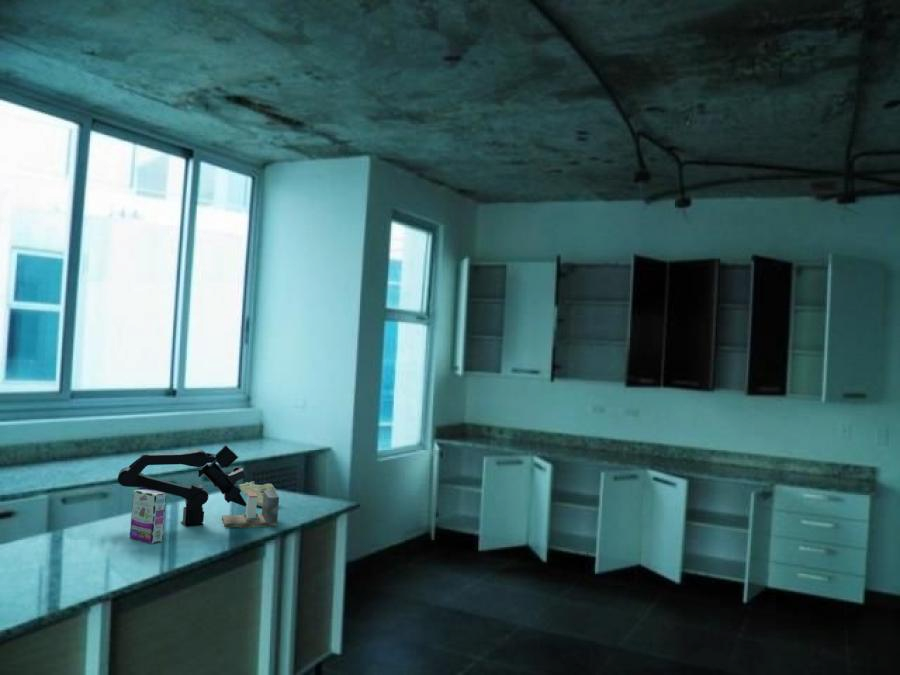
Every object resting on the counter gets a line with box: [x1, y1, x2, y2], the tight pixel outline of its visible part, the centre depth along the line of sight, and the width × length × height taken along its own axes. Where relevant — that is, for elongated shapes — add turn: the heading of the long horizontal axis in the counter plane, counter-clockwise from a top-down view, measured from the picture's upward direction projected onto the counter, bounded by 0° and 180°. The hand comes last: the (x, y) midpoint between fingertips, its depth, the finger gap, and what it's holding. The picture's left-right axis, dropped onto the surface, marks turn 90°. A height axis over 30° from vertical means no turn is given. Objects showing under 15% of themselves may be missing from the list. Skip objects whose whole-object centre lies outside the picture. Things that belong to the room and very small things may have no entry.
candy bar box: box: [129, 488, 168, 545], centre depth 245 cm, size 11×5×16 cm, turn 62°
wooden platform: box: [221, 490, 280, 528], centre depth 277 cm, size 19×13×11 cm
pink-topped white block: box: [245, 493, 258, 518], centre depth 277 cm, size 3×6×9 cm, turn 22°
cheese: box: [238, 480, 277, 508], centre depth 309 cm, size 15×7×15 cm
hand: (245, 505), depth 277 cm, fingers closed
